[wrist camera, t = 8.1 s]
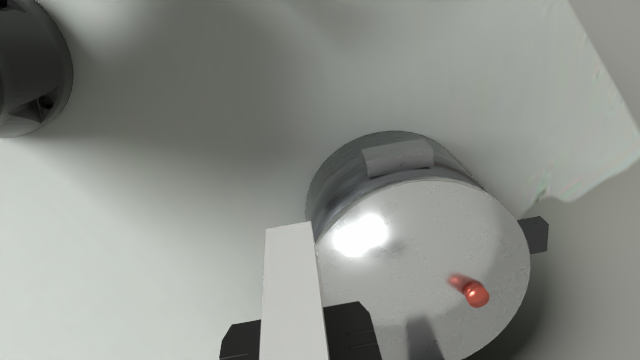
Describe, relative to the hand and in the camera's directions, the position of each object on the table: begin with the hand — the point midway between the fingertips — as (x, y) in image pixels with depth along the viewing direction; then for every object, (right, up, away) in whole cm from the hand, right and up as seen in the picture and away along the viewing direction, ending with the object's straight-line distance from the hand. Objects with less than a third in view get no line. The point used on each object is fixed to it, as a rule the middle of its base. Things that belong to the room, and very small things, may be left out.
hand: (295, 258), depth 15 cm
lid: (+11, -10, +28) cm, 31 cm away
